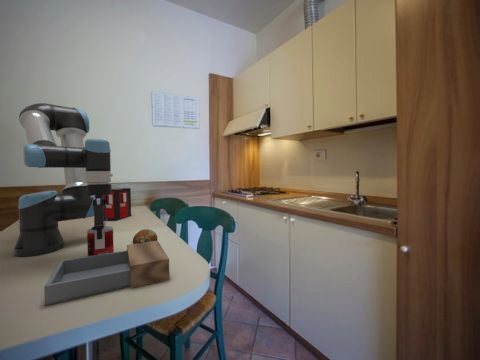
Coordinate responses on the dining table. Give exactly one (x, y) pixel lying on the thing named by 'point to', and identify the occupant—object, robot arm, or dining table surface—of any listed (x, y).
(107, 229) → the canned food
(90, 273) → the grey tray
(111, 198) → the cleaning product box
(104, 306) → the dining table surface
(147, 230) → the bread roll
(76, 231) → the dining table surface
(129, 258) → the walnut step
